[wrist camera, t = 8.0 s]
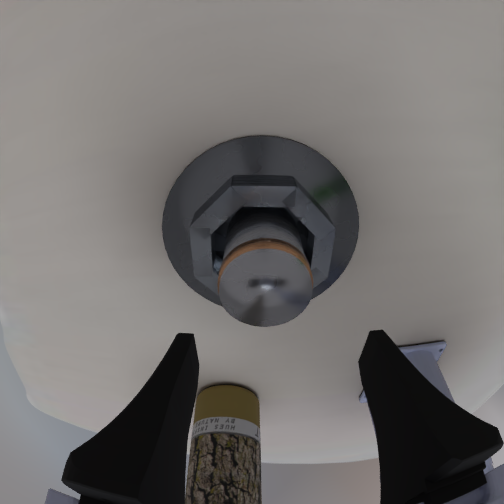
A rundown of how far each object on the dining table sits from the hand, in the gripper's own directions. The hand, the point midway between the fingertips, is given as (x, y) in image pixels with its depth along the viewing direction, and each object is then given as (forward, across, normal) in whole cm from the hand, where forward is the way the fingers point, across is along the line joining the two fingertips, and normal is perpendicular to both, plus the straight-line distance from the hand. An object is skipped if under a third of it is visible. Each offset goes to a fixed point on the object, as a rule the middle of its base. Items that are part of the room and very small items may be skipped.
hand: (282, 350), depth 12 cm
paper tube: (+10, +4, +20) cm, 23 cm away
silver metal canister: (+9, +1, 0) cm, 9 cm away
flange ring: (+10, +1, 0) cm, 10 cm away
